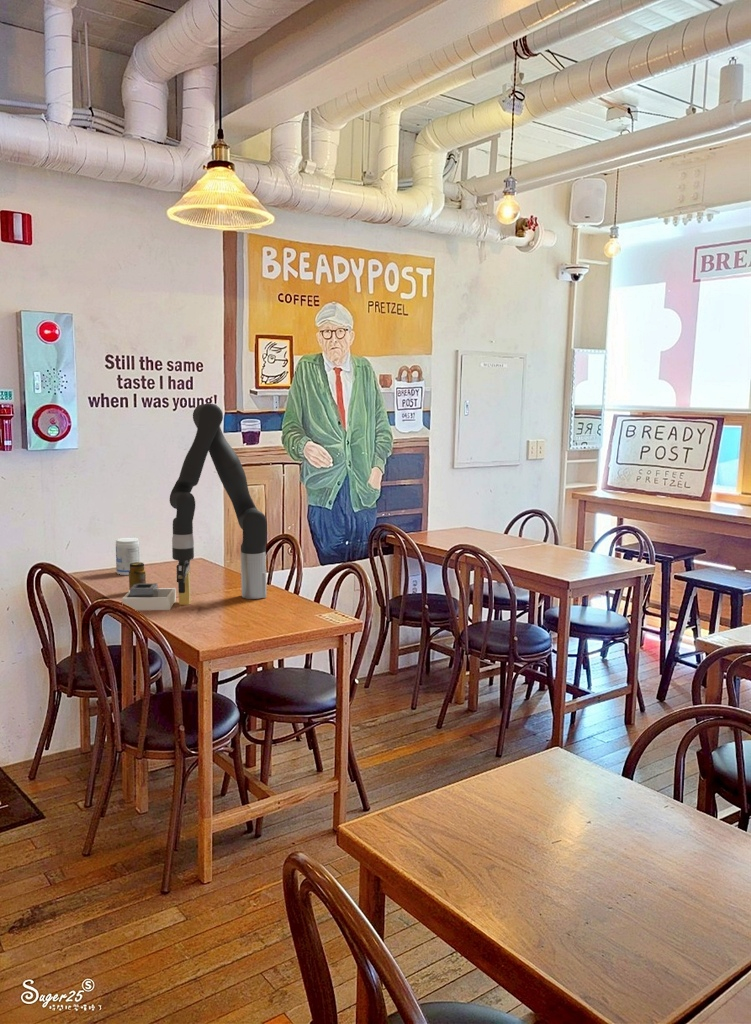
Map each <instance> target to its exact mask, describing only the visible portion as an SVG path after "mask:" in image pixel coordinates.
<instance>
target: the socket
mask: <svg viewBox="0 0 751 1024" xmlns="http://www.w3.org/2000/svg"><path fill="white" fill-rule="evenodd" d="M130 597H158V583H155V582H152V583H151V582H150V583H147V582H146V583H144V584H134V585H133V586H132V587H131V588H130Z"/></svg>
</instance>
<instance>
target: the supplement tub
mask: <svg viewBox="0 0 751 1024" xmlns="http://www.w3.org/2000/svg"><path fill="white" fill-rule="evenodd" d="M135 562H141V561H140V540H139V538H137V537H121V538H120V537H119V538H116V539H115V566H116V567H115V568H116V569H115V570H116V574H117V575H119V574H120V576H129V571H130V564H131V563H135Z"/></svg>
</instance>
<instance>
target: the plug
mask: <svg viewBox="0 0 751 1024" xmlns="http://www.w3.org/2000/svg"><path fill="white" fill-rule="evenodd" d="M180 579H182V577H180ZM191 599H192V597H191V570H190V571H187V577H186V578H185V593H179V592H178V605H180V606H181V605H183V606H184V605H185V606H186V605H187V606H188V605H190V604H191V601H192V600H191Z"/></svg>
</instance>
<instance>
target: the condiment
mask: <svg viewBox="0 0 751 1024" xmlns="http://www.w3.org/2000/svg"><path fill="white" fill-rule="evenodd" d="M146 578H147V577H146V570H145V563H144V562H141V561H140V562H135V563H131V564H130V571H129V575H128V582H129V583H128V588H129V590H128V592H129V591H130V588H131V587H132V586H133V585H134V584H144V583H147V582H146V581H147V580H146Z"/></svg>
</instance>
